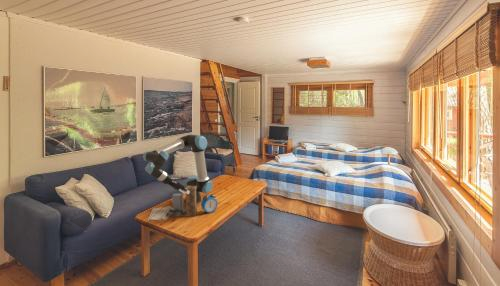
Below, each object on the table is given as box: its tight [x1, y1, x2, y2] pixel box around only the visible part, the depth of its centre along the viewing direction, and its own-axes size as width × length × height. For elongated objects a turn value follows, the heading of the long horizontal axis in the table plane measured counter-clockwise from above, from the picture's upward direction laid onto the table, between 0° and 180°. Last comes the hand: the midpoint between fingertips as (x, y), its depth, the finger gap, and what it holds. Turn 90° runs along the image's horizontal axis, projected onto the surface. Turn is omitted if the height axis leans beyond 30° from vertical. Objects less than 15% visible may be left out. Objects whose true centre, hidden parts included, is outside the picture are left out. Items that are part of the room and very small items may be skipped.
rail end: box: [171, 192, 184, 209], centre depth 226 cm, size 8×5×14 cm, turn 91°
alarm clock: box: [200, 193, 219, 214], centre depth 223 cm, size 13×6×15 cm, turn 124°
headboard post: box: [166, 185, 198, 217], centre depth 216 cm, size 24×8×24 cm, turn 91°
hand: (187, 192), depth 208 cm, fingers open, 5 cm apart
